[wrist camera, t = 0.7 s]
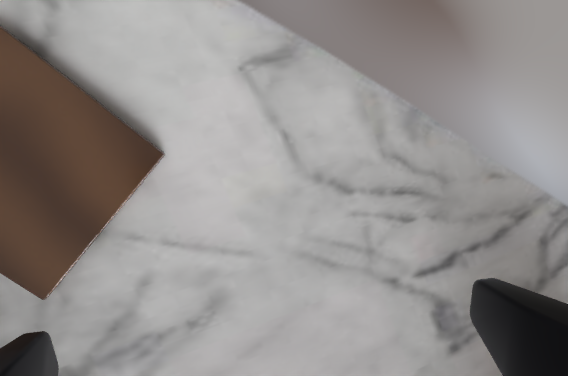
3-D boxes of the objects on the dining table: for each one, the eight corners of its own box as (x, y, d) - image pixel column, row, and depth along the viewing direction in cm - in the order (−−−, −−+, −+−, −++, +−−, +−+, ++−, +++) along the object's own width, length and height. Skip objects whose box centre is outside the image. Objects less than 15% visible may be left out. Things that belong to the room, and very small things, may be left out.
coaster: (48, 296, 22) (43, 301, 21) (-133, 181, 19) (-143, 183, 19) (165, 154, 22) (164, 154, 21) (-1, 24, 20) (-8, 20, 19)
